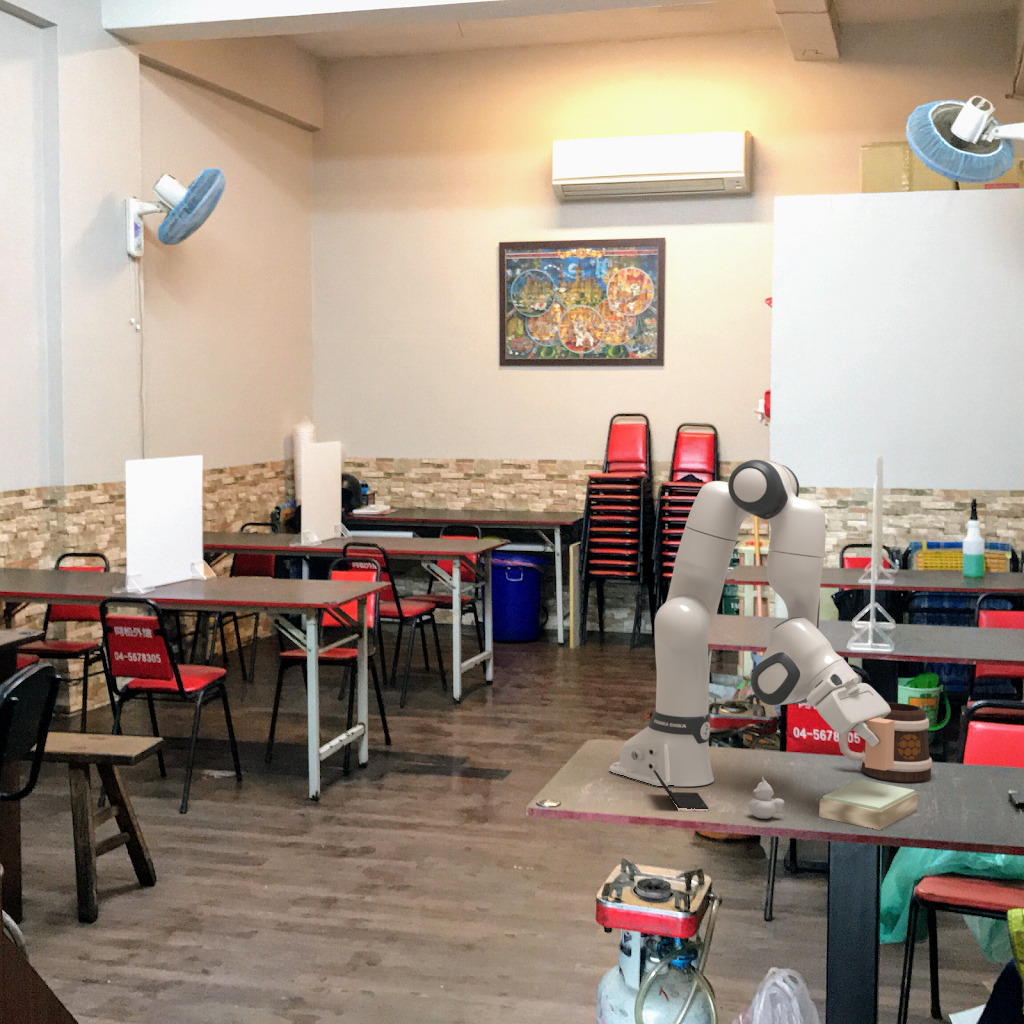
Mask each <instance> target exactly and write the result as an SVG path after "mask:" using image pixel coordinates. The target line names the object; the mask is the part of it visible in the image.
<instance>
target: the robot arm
mask: <svg viewBox="0 0 1024 1024" xmlns="http://www.w3.org/2000/svg"><path fill="white" fill-rule="evenodd" d="M799 496H800V483H799V479H798V478H797V476H796V474H795V473H794V471H793V470H791V468H790V467H788V466H787V465H784V464H781V463H778V462H776V461H773V460H770V459H769V460H768V459H767V460H766V459H765V460H761V459H749V460H747V461H745V462H742V463H741V464H739V465H738V466H737V467H735V469H734V470H733V471H732V473H731V474H730V476H729V479H728V482H727V481H724V480H723V481H721V480H713V481H708V482H707V483H705V484H703V486H701V488H700V490H699V492H698V494H697V496H696V497H695V499H694V501H693V504H692V506H691V509H690V511H689V514H688V516H687V519H686V523H685V526H684V529H683V533H682V535H681V539H680V543H679V546H678V549H677V552H676V556H675V559H674V565H673V571H672V575H671V580H670V585H669V590H668V593H667V597H666V601H665V603H663V604H662V605H661V606H660V607H659V609H658V610H657V612H656V614H655V618H654V652H655V653H654V654H655V666H656V686H655V687H656V692H655V709H653V710H651V711H649V712H648V713H644V716H645V717H644V720H648V719H649V721H648V723H647V726H646V727H645V728H643V729H642V730H641V731H639V732H638V733H636V734H635V735H633V736H632V737H630V738H629V739H628V740H626V741H625V742H624V744H623V746H622V748H621V752H620V758H619V761H616V762H614V763H612V764H611V765H610V766H609V767H608V768H609V769H608V772H609V771H611V772H614V773H618V774H620V775H624V776H627V777H630V778H633V779H637V780H640V781H644V782H646V783H650V784H652V785H651V786H653V785H657V786H662V784H661V783H660V781H659V779H658V778H657V776H656V775H655V773H654V770H655V771H656V772H657V773H658V775H659V776H660V778H661V779H662V780H663V782H664V783H665V785H666V786H667V787H669V786H668V785H674V786H673V787H699V786H706V785H709V784H712V783H713V782H714V781H715V777H714V774H713V770H712V766H711V759H710V757H711V756H710V747H709V741H710V734H711V714H710V713H709V707H710V706H709V704H710V703H709V702H710V701H709V700H710V698H709V696H710V667H709V634H710V633H711V631H712V630H713V626H714V624H715V621H716V616H717V612H718V609H719V605H720V602H721V598H722V594H723V590H724V585H725V581H726V578H727V574H728V571H729V568H730V564H731V562H732V560H731V559H732V556H733V554H734V549H735V547H736V543H737V540H738V536H739V533H740V530H741V527H742V525H743V522H744V521H745V519H746V518H747V517H748V516H750V515H753V516H755V517H757V518H760V519H762V520H765V521H766V520H767V522H768V524H769V527H770V537H769V544H768V551H767V557H766V577H767V582H768V584H769V587H771V588H772V590H773V591H774V592H775V593H776V594H777V596H779V597H780V598H781V600H782V601H783V602H784V604H785V608H786V611H787V619H786V620H783V621H782V622H780V623H778V624H777V625H776V626H775V627H774V628H772V630H771V631H770V633H769V643H768V645H767V647H766V649H765V652H764V654H763V656H762V657H761V658H760V661H759V662H758V664H756V666H755V667H754V668H753V670H752V673H751V676H750V685H751V689H752V692H753V694H754V695H755V697H756V698H757V699H758V700H759V701H760V702H762V703H764V704H766V705H768V706H782V705H790V704H794V705H795V704H797V705H798V704H802V705H803V704H805V703H808V705H810V706H811V707H813V708H815V709H816V711H817V712H818V714H819V716H820V717H821V718H822V719H823V720H824V721H825V722H826V723H827V725H828V726H829V727H830V728H831V729H832V730H833V731H834V732H836V733H838V734H843V733H846V732H849V733H850V732H851V731H854V732H855V733H856V735H858V736H859V737H861V738H862V739H863V740H865V742H866V741H867V742H868V743H869V744H870V745H871V746H872V747H874V746H876V745H878V744H879V743H880V742H881V739H880V738H879V737H878V736H877V734H874V733H872V732H871V731H870V730H869V729H868V728H867V727H868V726H867V725H866V721H867V720H870V719H873V718H881V719H883V718H884V717H886V716H887V715H888V714H889V713H890V712H891V709H890V707H889V705H888V704H887V703H888V702H887V701H886V700H885V699H884V698H883V697H882V695H880V693H878V692H877V691H876V690H875V689H874V688H873V687H872V686H871V685H870V684H868V683H865V682H860V676H858V675H857V673H856V672H855V671H854V669H852V667H851V666H850V665H849V663H848V662H847V661H846V660H845V659H844V658H843V657H842V656H840V655H839V654H838V653H837V652H836V651H835V650H834V648H833V647H832V644H831V642H830V641H829V640H828V639H827V637H825V635H824V634H823V633H822V632H821V631H820V629H819V626H820V609H821V608H820V606H821V602H820V601H821V598H820V597H821V596H820V595H821V582H822V581H821V580H822V576H823V575H822V574H823V566H824V562H825V558H824V557H825V553H826V552H825V551H826V540H827V539H826V538H827V537H826V515H825V511H824V509H823V507H821V506H820V504H818V503H816V502H814V501H812V500H810V499H807V498H806V499H805V498H801V497H799ZM611 772H610V773H611ZM614 773H613V774H614ZM620 775H619V776H620ZM624 776H623V777H624ZM627 777H626V778H627ZM630 778H629V779H630ZM633 779H632V780H633ZM637 780H636V781H637ZM640 781H639V782H640ZM646 783H645V784H646ZM650 784H649V785H650ZM657 786H656V787H657Z"/></svg>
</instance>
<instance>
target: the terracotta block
mask: <svg viewBox="0 0 1024 1024" xmlns="http://www.w3.org/2000/svg"><path fill="white" fill-rule="evenodd" d="M866 725H867V726H868V727H867V728H868V729H869V730H870V731H871V732H872V733H874V734H877V736H878V737H879V738H880V739H881V742H880V743H879V744H878V745H876V746H874V747H872V746H871V745H870V744H869V743H868V742H867V741H866V740H865V744H864V745H865V746H864V750H865V767H867V768H873V769H879V770H884V771H885V770H888V769H890V768H892V767H893V763H894V725H895V720H888V719H881V718H873V719H870V720H867V721H866Z"/></svg>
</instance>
